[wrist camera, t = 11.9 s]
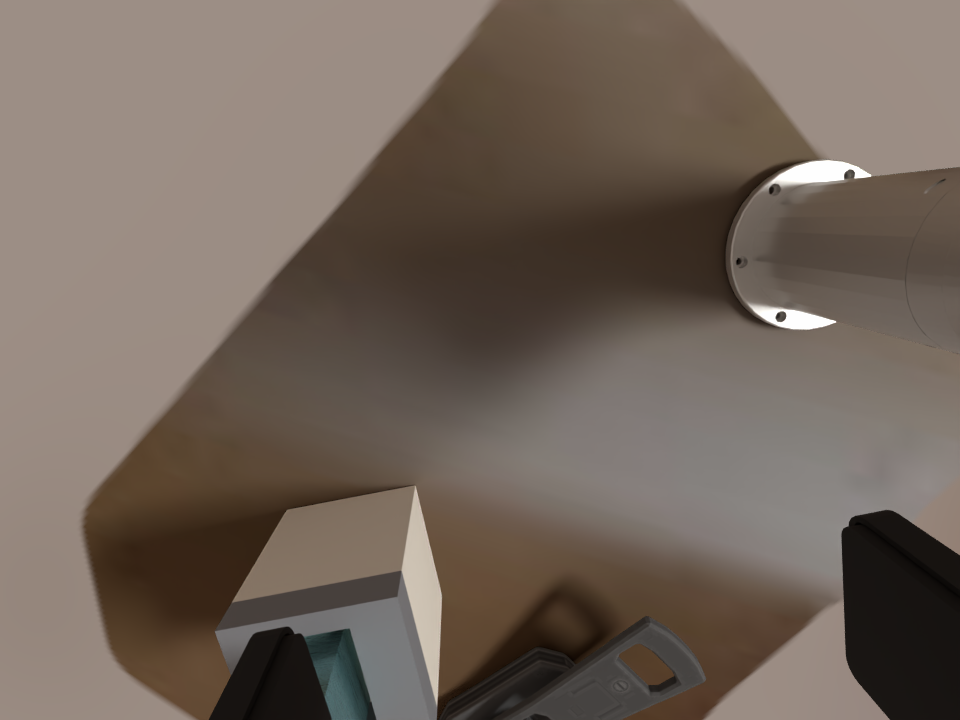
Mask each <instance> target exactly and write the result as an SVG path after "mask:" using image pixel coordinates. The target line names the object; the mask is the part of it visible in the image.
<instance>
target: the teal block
mask: <svg viewBox="0 0 960 720" xmlns="http://www.w3.org/2000/svg"><path fill="white" fill-rule="evenodd" d="M304 638H305V641H306V644H307V647H308V650H309V653H310V656H311V659H312V662H313V665H314V667H315V670H316V673H317V676H318V679H319V682H320V685H321V688H322V691H323V694H324V697H325V700H326V703H327V706H328V709H329V712H330V715H331V718H332V720H366V719H367V714H368V708H369V703H370V695H369V692H368V689H367V685H366V682H365V679H364V675H363V672H362V668H361V665H360V662H359V658H358V655H357V651H356V648H355V645H354V641H353V638H352V635H351V631H350V628H348V629H342V630H337V631H332V632H326V633H321V634H316V635H310V636H305V637H304Z"/></svg>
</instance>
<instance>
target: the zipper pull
mask: <svg viewBox="0 0 960 720" xmlns="http://www.w3.org/2000/svg"><path fill="white" fill-rule="evenodd" d="M635 644H642V645H643V646H645V647H647V648H648V649H650V650H652V651H653V652H654V653H655V654H656V655H657V656H658V657H659V658H660V659H661V660H662V661H663V662H664V663H665V664H666V665H667V666H668V667H669V668H670V669H671V670H672V672H673V674H674V677H672V678H670V679H668V680H666V681H665V682H663V683H661V684H659V685H647V684H646V683H645V682H644V681H643V680H642V679H641V678H640V677H639V676H638V675H637V674H636V673H635V672H634V671H633V670H632V669H631V668H630V667H629V666H628V665H626V664H625V663H624V662H623V661H622V660H621V659H620V658H619V657H618V656H619V654H620V653H621V652H623V651H625V650H626V649H628V648H630V647H632V646H633V645H635ZM705 680H706V678H705V675H704V672H703V670H702V668H701V666H700V664H699V662H698V660H697V658H696V656H695V655H694V654H693V652H692V651H691V650H690V649H689V647H688V646H687V645H686V644H685V643H684V642H683V641H682V640H681V639H680V638H679V637H678V636H677V635H676V634H675V633H673V632H672V631H671V630H670V629H668V628H667V627H666V626H664V625H663V624H661V623H659V622H657V621H656V620H654V619H652V618H650V617H648V616H645V617H644V618H642V619H641V620H639V621H638V622H636V623H635V624H633V625H632V626H631V627H629V628H628V629H626V630H625V631H623V632H622V633H620V634H619V635H617V636H616V637H615V638H613V639H612V640H610V641H609V642H608V643H606V644H605V645H604V646H602V647H601V648H599V649H598V650H596V651H595V652H594V653H592V654H591V655H589V656H588V657H586V658H585V659H584V660H582V661H581V662H579V663H578V664H575V663H574V662H573V661H572V660H571V659H570V658H569V657H567V656H566V655H565V654H564V653H561V652H557V651H553V650H549V649H545V648H541V647H536V648H534V649H532V650H530V651H529V652H527V653H526V654H524V655H522V656H521V657H519V658H518V659H516V660H514V661H513V662H511V663H510V664H508V665H507V666H505V667H503V668H502V669H500V670H499V671H497V672H495V673H494V674H492V675H491V676H489V677H488V678H486V679H484V680H483V681H481V682H480V683H478V684H476V685H475V686H473V687H472V688H470V689H468V690H467V691H465V692H463V693H462V694H460V695H458V696H457V697H455V698H453V699H452V700H450V701H449V702H448V703H447V705H446V707H445V709H444V710H443V712H442V714H441V716H440V718H439V720H621V719H623V718H626V717H628V716H630V715H632V714H634V713H637V712H639V711H641V710H643V709H645V708H648V707H650V706H652V705H654V704H656V703H659V702H661V701H664V700H666V699H668V698H670V697H673V696H675V695H677V694H679V693H681V692H684V691H686V690H688V689H690V688H692V687H695V686H697V685H699V684H701V683H703V682H705Z"/></svg>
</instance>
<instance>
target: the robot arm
mask: <svg viewBox="0 0 960 720" xmlns="http://www.w3.org/2000/svg"><path fill="white" fill-rule="evenodd" d="M843 176H844V177H843ZM769 187H770V189H771V192H770V193H769ZM737 259H738V260H739V262H738V264H736V260H737ZM726 270H727V274H728V279H729V283H730V285H731V287H732V289H733V291H734V294H735V296H736V297H737V298H738V300H739V301H740V303H741V304H742V305H743V307H744V308H746V309H747V310H748V311H749V312H750V313H751V314H752V315H753V316H755V317H757V318H758V319H760V320H762V321H764V322H766V323H768V324H771V325H773V326H776V327H780V328H785V329H790V330H812V329H817V328H822V327H825V326H828V325H831V324H833V323H836V322H840V323H844V324H848V325H852V326H855V327H859V328H863V329H867V330H870V331H874V332H878V333H882V334H885V335H889V336H893V337H897V338H900V339H904V340H908V341H912V342H915V343H919V344H923V345H927V346H931V347H934V348H938V349H942V350H946V351H949V352H953V353H957V354H960V167H954V168H945V169H936V170H926V171H917V172H908V173H898V174H890V175H880V176H871V174H869V173H868V172H866V171H864V170H863V169H861V168H859V167H858V166H856V165H853V164H850V163H847V162H844V161H838V160H830V159H823V160H813V161H807V162H802V163H797V164H794V165H792V166H789V167H787V168H784V169H782V170H779V171H778V172H776V173H775V174H773V175H771V176H770V177H768V178H767V179H765V180H764V181H763V182H762V183H761V184H760V185H759V186H757V187H756V188H755V189H754V190H753V191H752V192H751V194H750V195H749V196H748V197H747V199H746V200H745V201H744V202H743V204H742V205H741V207H740V209H739V211H738V212H737V214H736V216H735V218H734V220H733V223H732V226H731V228H730V231H729V234H728V239H727V245H726ZM776 314H777V316H776ZM842 563H843V590H844V618H845V645H846V659H847V663H848V665H849V668H850V670H851V672H852V674H853V676H854V677H855V679H856V680H857V681H858V683H859V684H860V685H861V686H862V687H863V689H864V690H865V691H866V692H867V693H868V694H869V696H870V697H871V698H872V699H873V700H874V701H875V703H876V704H877V705H878V706H879V707H880V709H881V710H882V711H883V712H884V713H885V714H886V715H887V717H888V718H889V719H890V720H960V555H958V554H957V553H955V552H954V551H952V550H951V549H949V548H948V547H946V546H945V545H944V544H942V543H940V542H939V541H938V540H936V539H934V538H933V537H931V536H930V535H929V534H927V533H926V532H924V531H923V530H921V529H920V528H918V527H917V526H915V525H914V524H912V523H911V522H909V521H908V520H907V519H905V518H904V517H902V516H901V515H899V514H898V513H896V512H894V511H891V510H884V511H879V512H874V513H868V514H863V515H858V516H854V517H852V518H851V520H850V521H849V527H846V528H844V529H843V531H842ZM209 720H332V718H331V715H330V712H329V709H328V706H327V703H326V700H325V697H324V694H323V691H322V688H321V685H320V682H319V679H318V676H317V673H316V670H315V667H314V665H313V662H312V659H311V656H310V653H309V650H308V647H307V644H306V641H305V638H304V636H303V635H302V634H301V633H297V634H294V632H293V630H292V629H291V628H290V627H287V626H286V627H281V628H276V629H271V630H265V631H260V632H256V633H254V634H253V635H252V637H251V638H250V640H249V642H248V644H247V645H246V647H245V649H244V651H243V653H242V655H241V657H240V659H239V661H238V663H237V665H236V667H235V669H234V671H233V673H232V675H231V677H230V679H229V681H228V683H227V685H226V687H225V689H224V691H223V693H222V695H221V697H220V699H219V701H218V703H217V705H216V706H215V708H214V710H213V712H212V714H211V716H210V718H209Z"/></svg>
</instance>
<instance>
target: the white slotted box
mask: <svg viewBox="0 0 960 720" xmlns="http://www.w3.org/2000/svg"><path fill="white" fill-rule="evenodd" d="M441 607H442V594H441V590H440V586H439V582H438V577H437V573H436V569H435V565H434V561H433V557H432V552H431V548H430V544H429V540H428V536H427V532H426V527H425V523H424V519H423V515H422V511H421V507H420V503H419V498H418V494H417V490H416V486H415V485H414V486H409V487H404V488H398V489H393V490H388V491H383V492H377V493H372V494H367V495H362V496H356V497H351V498H346V499H341V500H335V501H330V502H325V503H320V504H315V505H309V506H304V507H299V508H294V509H288V510H286V512H285V514H284V515H283V517H282V519H281V520H280V522H279V524H278V525H277V527H276V529H275V530H274V532H273V534H272V536H271V537H270V539H269V541H268V542H267V544H266V546H265V547H264V549H263V551H262V552H261V554H260V556H259V557H258V559H257V561H256V563H255V564H254V566H253V568H252V569H251V571H250V573H249V574H248V576H247V578H246V579H245V581H244V583H243V585H242V586H241V588H240V590H239V591H238V593H237V595H236V596H235V598H234V600H233V601H232V603H231V605H230V606H229V608H228V610H227V612H226V613H225V615H224V617H223V618H222V620H221V622H220V623H219V625H218V627H217V628H216V630H215V633H216V636H217V639H218V641H219V644H220V647H221V650H222V652H223V655H224V658H225V660H226V663H227V666H228V668H229V671H230V674H231V675H232V673H233V671H234V669H235V667H236V665H237V663H238V661H239V659H240V657H241V655H242V653H243V651H244V649H245V647H246V645H247V644H248V642H249V640H250V638H251V637H252V635H253V634H254V633H256V632H260V631H265V630H271V629H276V628H281V627H286V626H287V627H290V628H291V629H292V630H293V632H294V634H297V633H301V634H302V635H303V636H304V637H305V636H310V635H316V634H321V633H326V632H332V631H337V630H342V629H348V628H350V631H351V635H352V638H353V641H354V645H355V648H356V651H357V655H358V658H359V662H360V665H361V668H362V672H363V675H364V679H365V682H366V685H367V689H368V692H369V695H370V703H369V708H368V714H367V719H366V720H437V701H438V678H439V654H440V630H441Z"/></svg>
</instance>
